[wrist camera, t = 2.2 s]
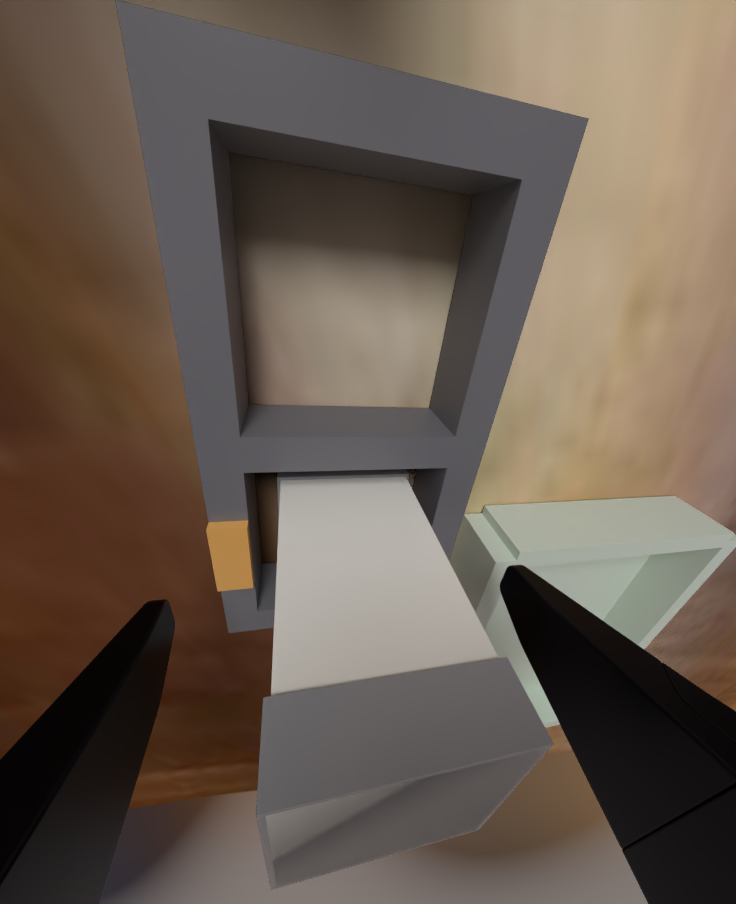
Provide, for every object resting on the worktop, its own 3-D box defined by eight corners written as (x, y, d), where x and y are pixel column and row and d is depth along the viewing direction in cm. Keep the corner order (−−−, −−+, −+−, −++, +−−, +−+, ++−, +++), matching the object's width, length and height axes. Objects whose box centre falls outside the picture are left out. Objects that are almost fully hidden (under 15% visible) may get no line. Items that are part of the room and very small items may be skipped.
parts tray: (687, 495, 16) (748, 532, 14) (555, 678, 24) (581, 719, 22) (466, 506, 13) (499, 554, 11) (403, 707, 21) (415, 757, 19)
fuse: (398, 454, 11) (554, 744, 5) (384, 539, 13) (478, 829, 7) (278, 456, 11) (256, 815, 4) (281, 547, 13) (270, 890, 6)
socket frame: (523, 148, 8) (601, 112, 6) (417, 566, 15) (437, 615, 13) (164, 70, 6) (104, -16, 4) (236, 583, 13) (226, 642, 11)
